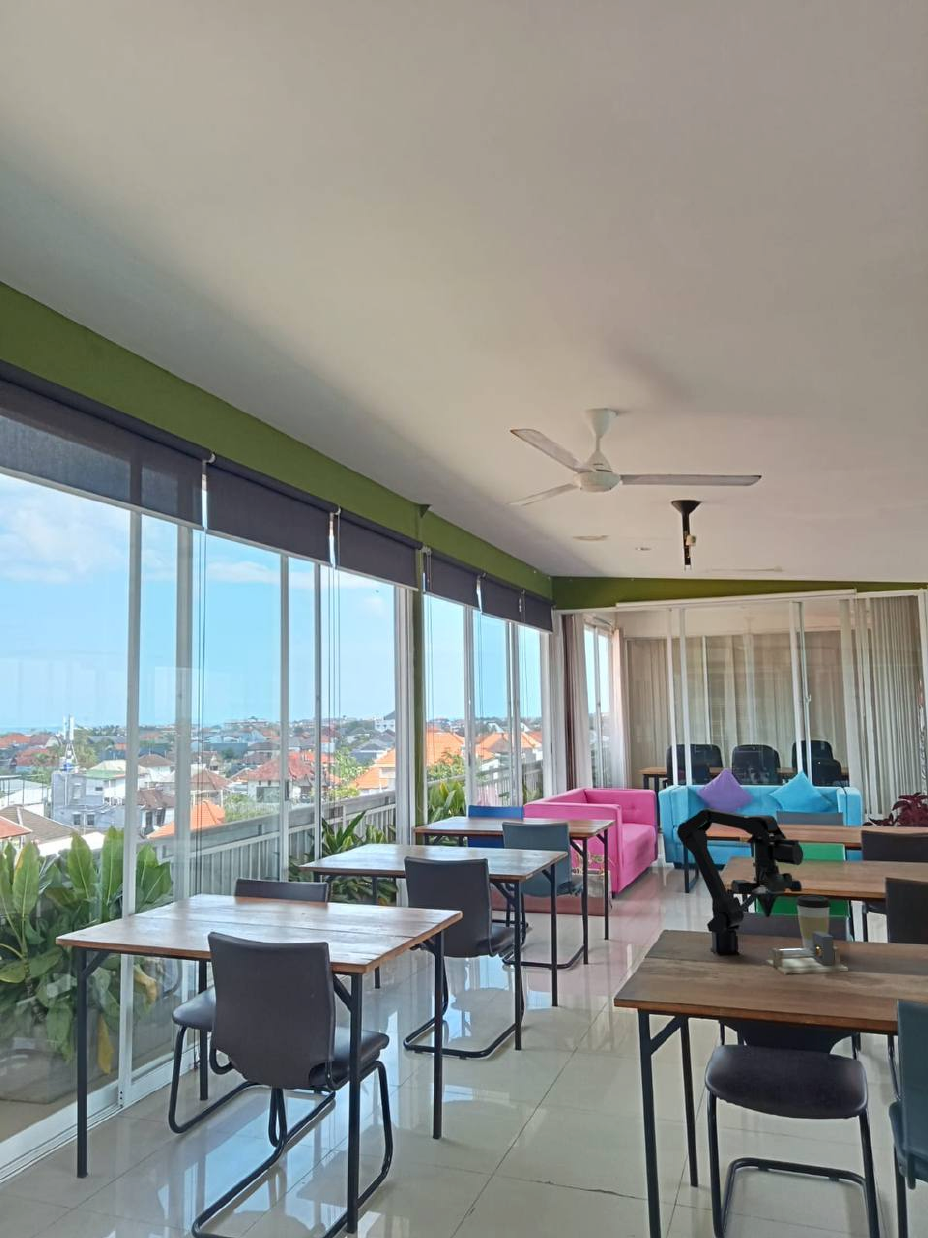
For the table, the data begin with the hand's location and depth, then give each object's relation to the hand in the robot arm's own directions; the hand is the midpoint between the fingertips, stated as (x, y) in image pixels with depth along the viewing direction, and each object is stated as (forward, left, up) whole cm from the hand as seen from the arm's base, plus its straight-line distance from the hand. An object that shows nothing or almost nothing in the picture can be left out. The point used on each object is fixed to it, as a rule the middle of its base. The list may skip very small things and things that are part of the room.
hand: (767, 917), depth 258 cm
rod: (+8, -6, -10) cm, 14 cm away
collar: (+13, -6, -11) cm, 18 cm away
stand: (+8, -6, -12) cm, 16 cm away
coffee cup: (+19, +10, -13) cm, 25 cm away
